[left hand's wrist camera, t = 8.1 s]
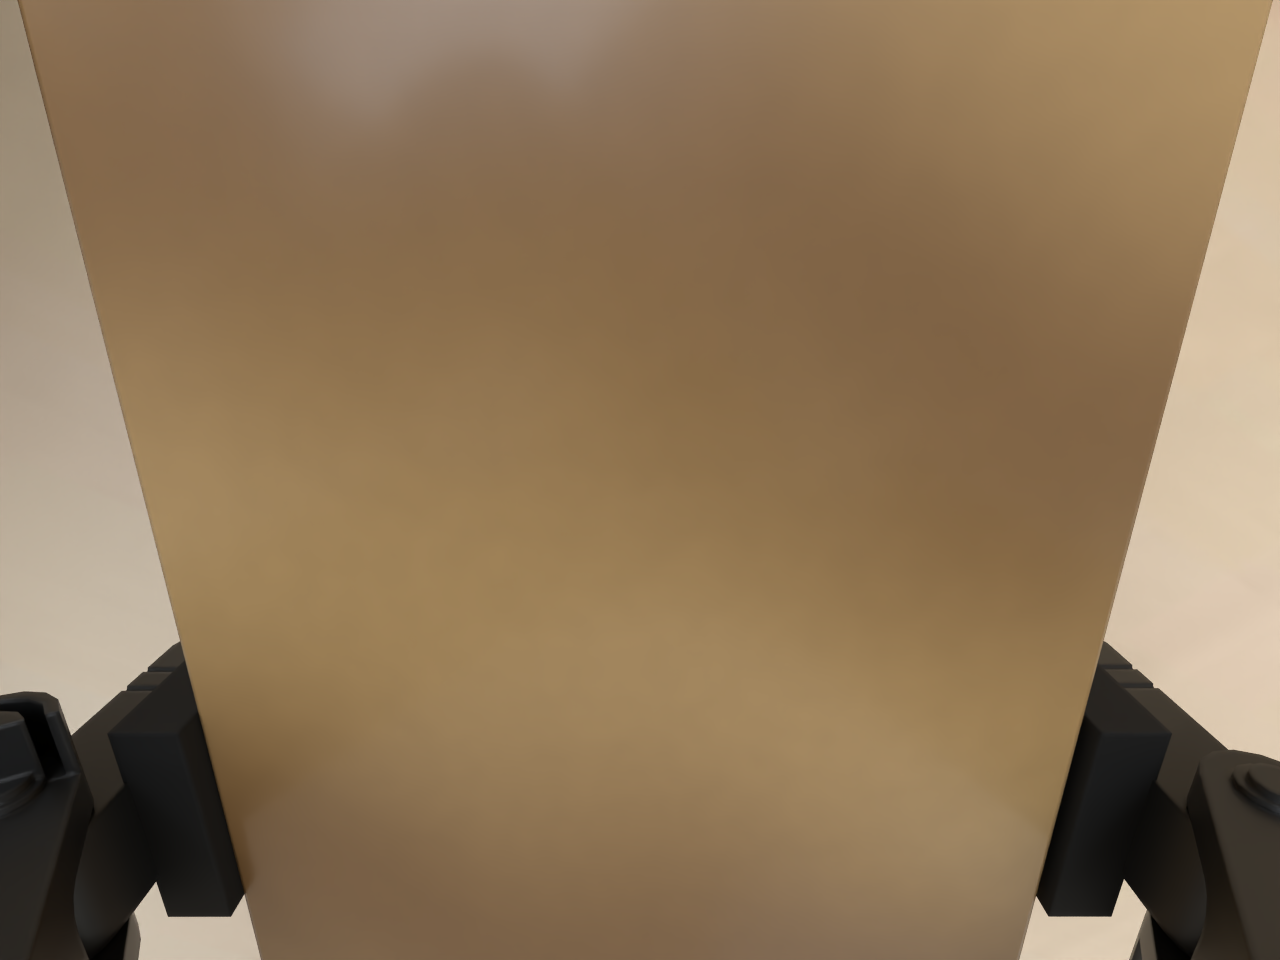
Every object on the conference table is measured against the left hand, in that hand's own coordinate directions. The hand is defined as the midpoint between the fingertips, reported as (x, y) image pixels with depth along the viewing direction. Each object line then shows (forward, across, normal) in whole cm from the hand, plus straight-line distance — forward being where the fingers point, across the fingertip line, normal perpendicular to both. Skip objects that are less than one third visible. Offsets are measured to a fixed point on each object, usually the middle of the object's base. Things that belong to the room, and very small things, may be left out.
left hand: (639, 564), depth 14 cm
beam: (+1, 0, -37) cm, 37 cm away
